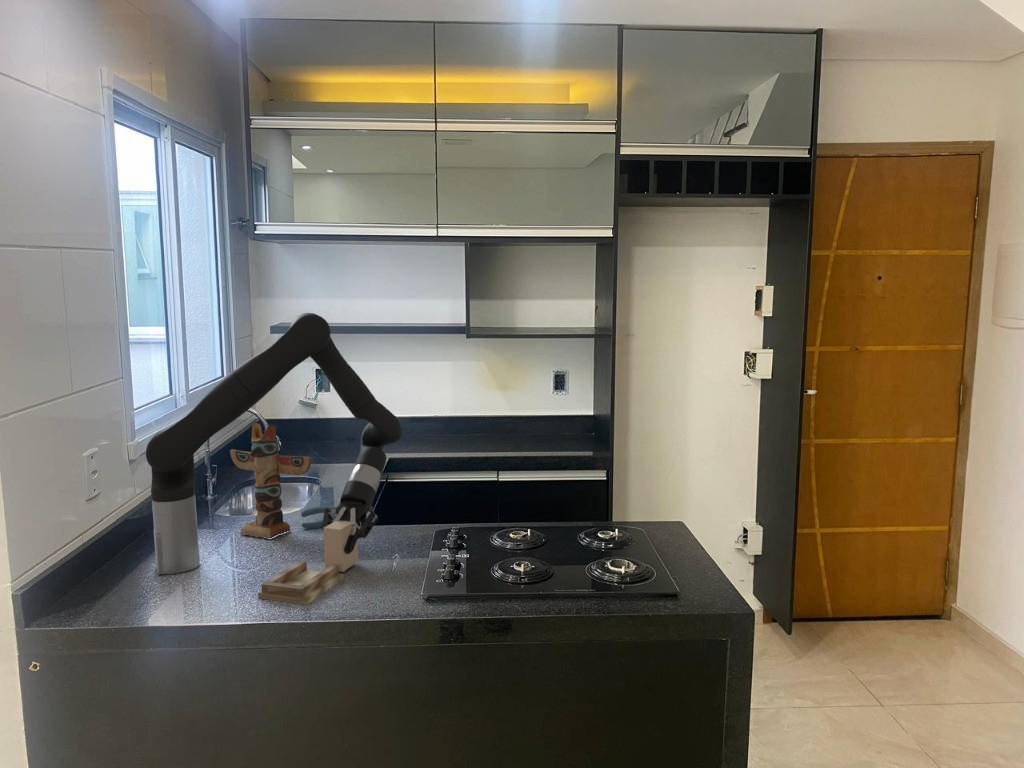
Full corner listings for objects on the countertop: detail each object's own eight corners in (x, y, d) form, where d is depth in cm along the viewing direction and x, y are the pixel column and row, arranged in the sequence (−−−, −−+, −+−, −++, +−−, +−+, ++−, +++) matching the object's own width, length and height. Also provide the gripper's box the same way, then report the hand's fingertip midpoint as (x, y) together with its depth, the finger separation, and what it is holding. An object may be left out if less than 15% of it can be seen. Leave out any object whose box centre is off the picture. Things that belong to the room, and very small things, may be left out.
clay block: (342, 572, 160) (340, 529, 159) (325, 570, 162) (323, 527, 161) (358, 561, 167) (356, 520, 166) (341, 559, 168) (339, 518, 167)
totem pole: (216, 531, 194) (209, 424, 191) (237, 523, 201) (230, 420, 198) (296, 544, 182) (290, 430, 179) (316, 535, 189) (310, 425, 185)
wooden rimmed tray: (307, 604, 145) (306, 589, 144) (258, 598, 148) (257, 583, 148) (343, 579, 158) (342, 565, 158) (297, 573, 162) (296, 560, 161)
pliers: (372, 518, 204) (371, 498, 203) (374, 520, 202) (373, 500, 201) (301, 528, 195) (300, 508, 194) (302, 531, 193) (301, 510, 193)
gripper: (329, 477, 171) (302, 541, 161) (382, 481, 167) (357, 547, 157) (342, 492, 177) (317, 555, 167) (393, 496, 173) (370, 561, 163)
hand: (337, 551), depth 162 cm, fingers closed on clay block, 4 cm apart
